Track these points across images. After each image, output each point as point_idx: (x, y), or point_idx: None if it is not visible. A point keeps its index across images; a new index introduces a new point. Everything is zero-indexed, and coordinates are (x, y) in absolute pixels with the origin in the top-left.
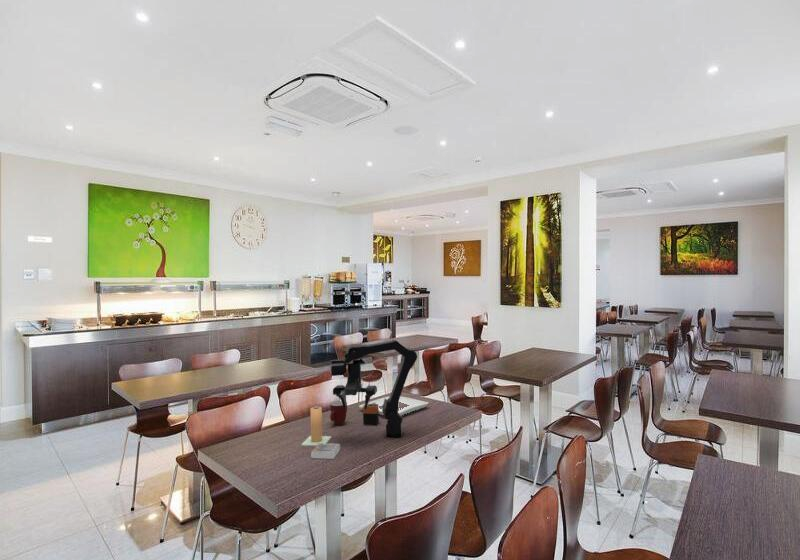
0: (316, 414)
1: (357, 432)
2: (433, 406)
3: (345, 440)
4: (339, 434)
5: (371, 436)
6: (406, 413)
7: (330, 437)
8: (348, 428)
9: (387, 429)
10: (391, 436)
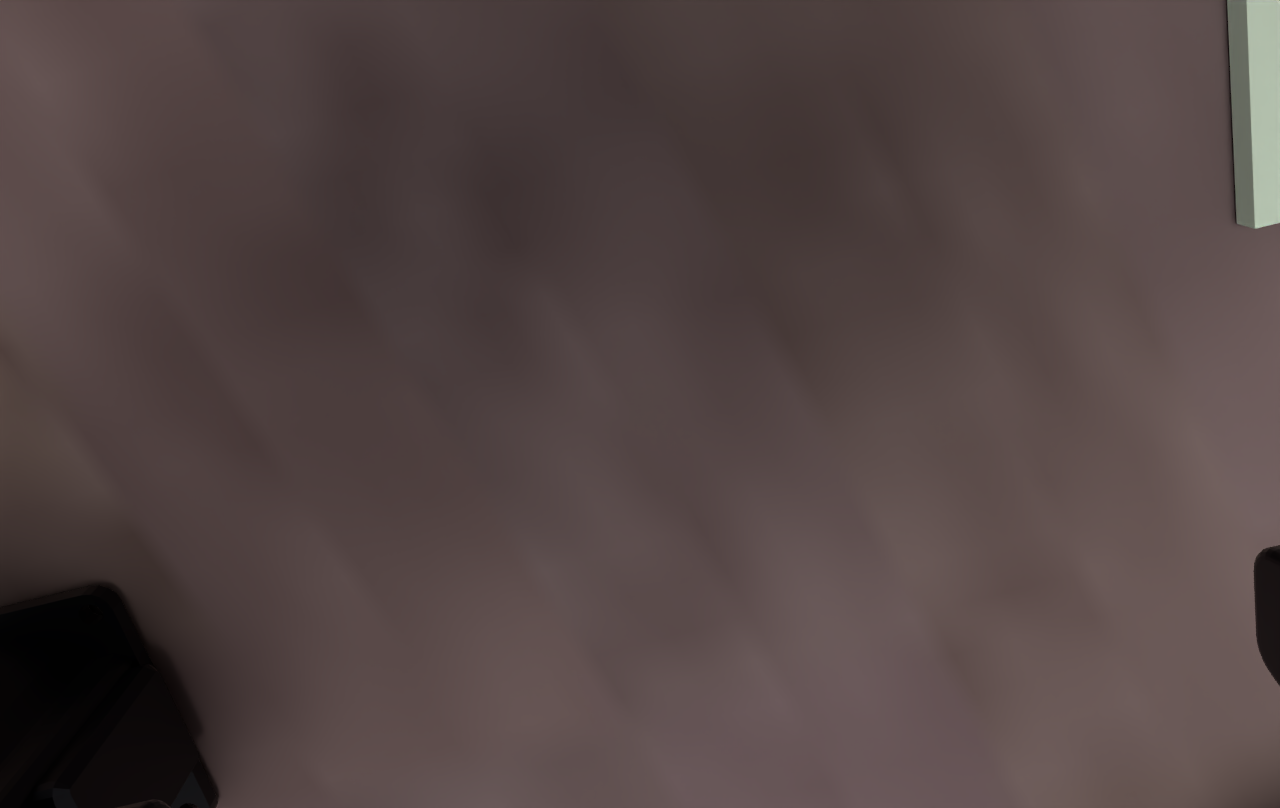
0: None
1: (808, 633)
2: None
3: (856, 181)
4: (1128, 441)
5: (432, 537)
6: None
7: (1250, 173)
8: (1071, 751)
9: (70, 723)
10: (10, 611)
